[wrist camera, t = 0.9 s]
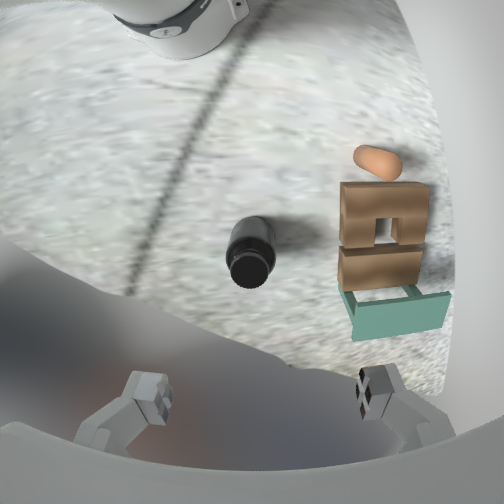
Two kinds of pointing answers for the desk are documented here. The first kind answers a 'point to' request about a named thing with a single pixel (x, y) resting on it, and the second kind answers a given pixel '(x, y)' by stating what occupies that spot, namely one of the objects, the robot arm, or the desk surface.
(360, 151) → the peg
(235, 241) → the supplement bottle
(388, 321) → the teal u-shaped bracket
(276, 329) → the desk surface
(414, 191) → the socket block
